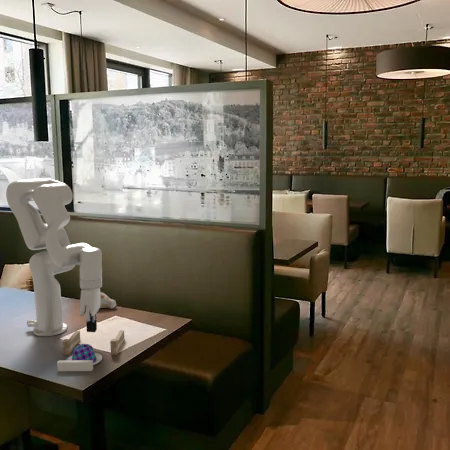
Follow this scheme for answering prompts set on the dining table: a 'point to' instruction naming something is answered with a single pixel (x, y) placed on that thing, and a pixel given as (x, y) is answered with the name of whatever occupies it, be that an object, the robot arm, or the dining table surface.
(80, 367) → the bar
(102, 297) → the white patterned lump
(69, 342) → the pair of beige bars
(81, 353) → the pudding
